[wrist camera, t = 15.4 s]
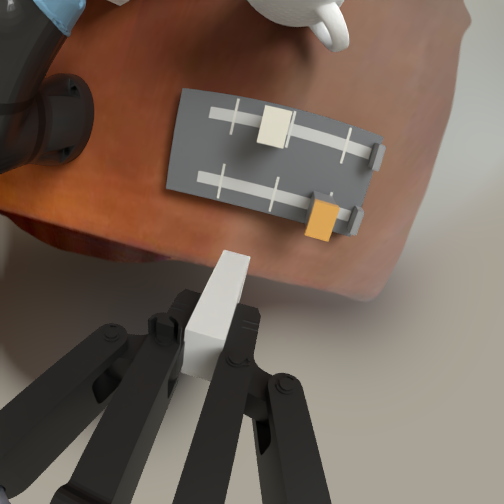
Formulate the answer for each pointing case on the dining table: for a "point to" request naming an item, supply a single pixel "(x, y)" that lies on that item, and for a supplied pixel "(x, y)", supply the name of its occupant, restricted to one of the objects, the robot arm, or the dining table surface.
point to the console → (270, 158)
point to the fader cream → (274, 126)
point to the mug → (309, 18)
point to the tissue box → (119, 2)
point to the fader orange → (321, 216)
